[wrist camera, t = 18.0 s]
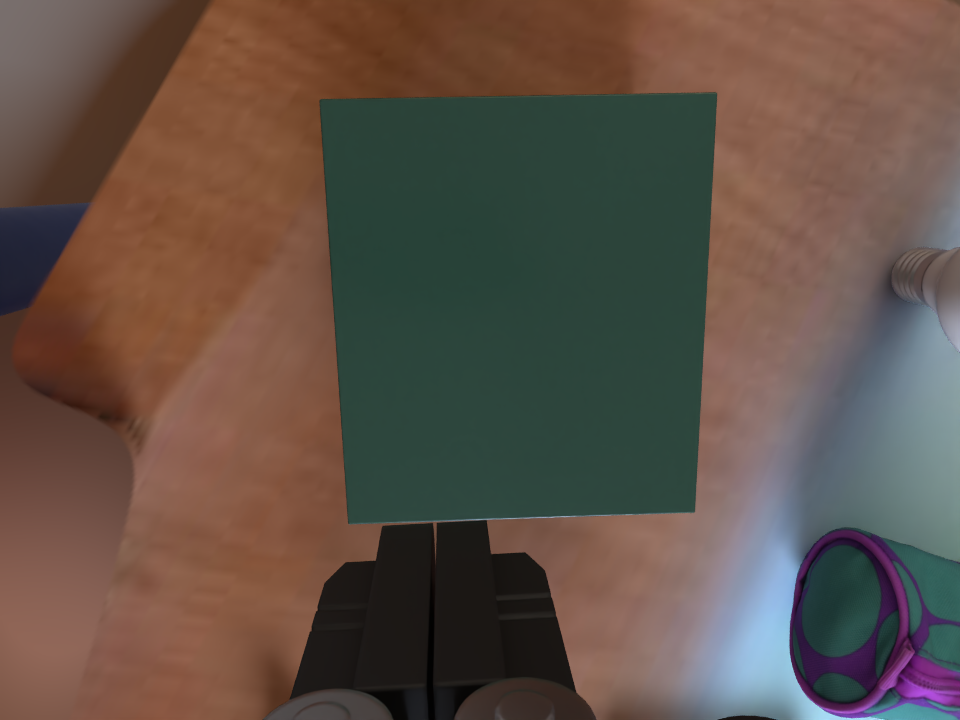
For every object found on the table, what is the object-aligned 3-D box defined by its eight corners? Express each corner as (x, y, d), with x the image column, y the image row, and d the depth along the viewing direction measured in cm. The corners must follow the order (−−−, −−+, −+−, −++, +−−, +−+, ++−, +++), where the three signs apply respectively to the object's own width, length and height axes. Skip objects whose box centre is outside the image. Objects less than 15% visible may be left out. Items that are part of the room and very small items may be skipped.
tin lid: (323, 101, 24) (319, 98, 23) (708, 95, 24) (718, 92, 23) (350, 514, 27) (348, 524, 26) (688, 503, 27) (695, 513, 27)
